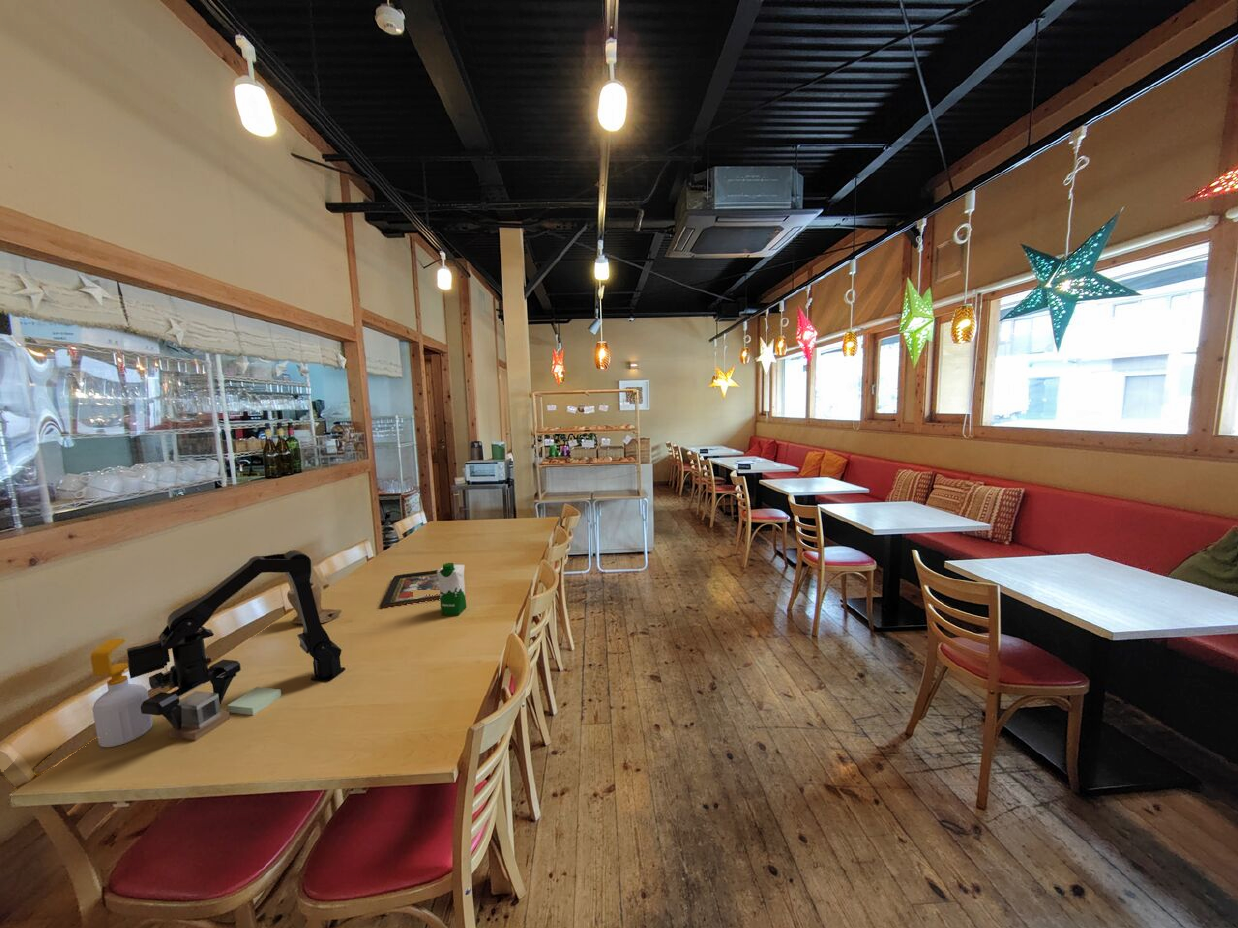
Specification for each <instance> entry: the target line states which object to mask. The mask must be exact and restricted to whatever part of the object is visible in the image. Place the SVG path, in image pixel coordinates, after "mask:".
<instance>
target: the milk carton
mask: <svg viewBox="0 0 1238 928" xmlns="http://www.w3.org/2000/svg"><path fill="white" fill-rule="evenodd" d="M437 570H438V571H437V574H438V579H439V589H440V600H439V601H440V612H441V616H456V617H457V616H460V615H461V614H462V613H463V612H464V611H465V610H466V609H467V600H466V599H467V598H466V588H465V587H466V586H465V564H454V563H453V562H447V563H443V564H442V567H441V568H439V569H437Z"/></svg>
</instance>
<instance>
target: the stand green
mask: <svg viewBox="0 0 1238 928" xmlns="http://www.w3.org/2000/svg"><path fill="white" fill-rule="evenodd" d="M280 697H282V691H281V689H278V688H270V687H269V688H268V687H261V686H260V687H259V686H256V687H253V689H251V690H250V691H248V692H246V693H245V694H243V695H242V696H240V697H238V698H236V699H235V700H234V701H231V702H230V703H229V704H227V711H229V714H230V713H231V714H232V713H233V714H239V715H248V716H254V715H256V714H257V713H260V711H262V710H263V709H265V708H266V707H267V706H269V705H270V704H272V703H273V702H275V701H277V700H278V699H279V698H280Z"/></svg>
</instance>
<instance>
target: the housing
mask: <svg viewBox="0 0 1238 928" xmlns="http://www.w3.org/2000/svg"><path fill="white" fill-rule="evenodd" d="M179 701H180V702H179V704H178V705H181V710H182V725H181V726H183V727H190V728H198V729H200V728H202V727H203V726H205V725H207V724H208V723H210V722H211V721H213V720H214V719H216V718H217V717H219V716H221V711H222V710H221V704H220V703H219V696H218V693H213V692H208V691H207V692H206V691H197V690H196V691H193V692H192V693H190V694H188V695H187V696H185V697H183V698H180V699H179Z"/></svg>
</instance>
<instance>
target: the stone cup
mask: <svg viewBox="0 0 1238 928" xmlns="http://www.w3.org/2000/svg"><path fill="white" fill-rule="evenodd" d="M310 584H311V588H312V591H313V595H314V599H315V603H316V607H317V611H318V615H319V619H320V622H321V624H324V623H328V622H331V621H332V620H334V619H335V618H338V616H340V614H341V613H342V612H343V610H342V609H331V608H330V609H329V608H328V609H327V608H326V609H325V608H324V609H323V607H322V593H321V587H320V586H319V584H317V582H314V581H310ZM286 596H287V600H288V602H289V604H290V605H291V606H292V607H293V609H294V610H295V611H296V616H295V617H293V618H292V620H291V622H292V623H293V624H300V625H301V624H302V625H303V623H302V619H301V616H300V612H299V608H298V604H297V601H296V597H295V593H294V589H293V587H292V588H290V589H289V590H288V592H287V595H286Z"/></svg>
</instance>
